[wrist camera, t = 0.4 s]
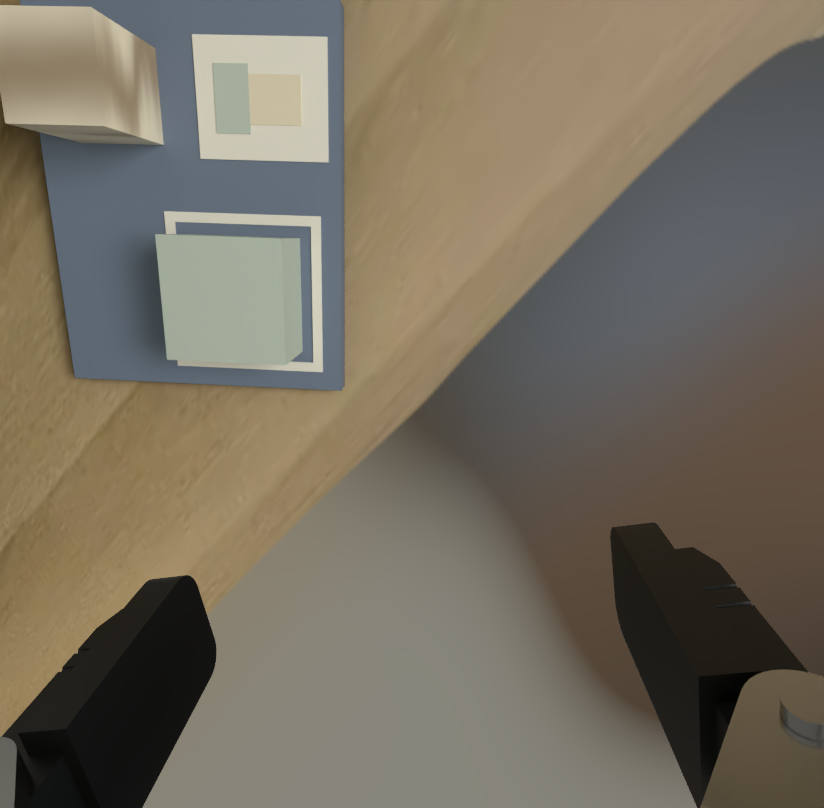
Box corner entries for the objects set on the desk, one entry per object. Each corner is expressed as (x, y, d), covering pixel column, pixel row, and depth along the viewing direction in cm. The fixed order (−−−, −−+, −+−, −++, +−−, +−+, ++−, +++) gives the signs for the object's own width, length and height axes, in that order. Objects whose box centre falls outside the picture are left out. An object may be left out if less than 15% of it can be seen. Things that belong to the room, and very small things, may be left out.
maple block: (69, 46, 32) (-14, 5, 26) (155, 48, 32) (90, 6, 26) (81, 142, 33) (5, 123, 28) (163, 145, 33) (104, 126, 27)
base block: (187, 234, 34) (155, 234, 31) (300, 238, 34) (281, 238, 30) (196, 346, 36) (167, 359, 33) (302, 351, 36) (285, 365, 32)
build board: (34, 2, 32) (17, -7, 31) (343, 7, 32) (339, -2, 30) (85, 373, 39) (73, 378, 37) (344, 385, 38) (340, 391, 37)
